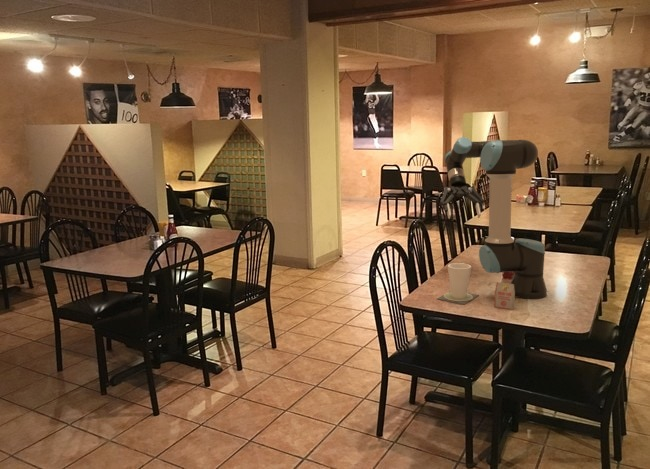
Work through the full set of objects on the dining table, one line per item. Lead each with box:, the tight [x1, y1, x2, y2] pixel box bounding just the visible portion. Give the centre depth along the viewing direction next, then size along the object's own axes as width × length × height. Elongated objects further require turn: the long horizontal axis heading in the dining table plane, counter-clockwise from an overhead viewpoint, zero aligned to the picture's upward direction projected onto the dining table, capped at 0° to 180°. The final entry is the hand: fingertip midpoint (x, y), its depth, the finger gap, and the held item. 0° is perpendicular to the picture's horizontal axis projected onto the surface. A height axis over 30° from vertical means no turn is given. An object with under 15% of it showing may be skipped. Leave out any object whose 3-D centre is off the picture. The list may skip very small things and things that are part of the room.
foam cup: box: [447, 262, 472, 298], centre depth 237 cm, size 10×9×13 cm
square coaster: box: [436, 290, 480, 306], centre depth 238 cm, size 12×14×1 cm
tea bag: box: [493, 281, 516, 311], centre depth 225 cm, size 4×7×10 cm, turn 56°
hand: (464, 216), depth 258 cm, fingers open, 13 cm apart
